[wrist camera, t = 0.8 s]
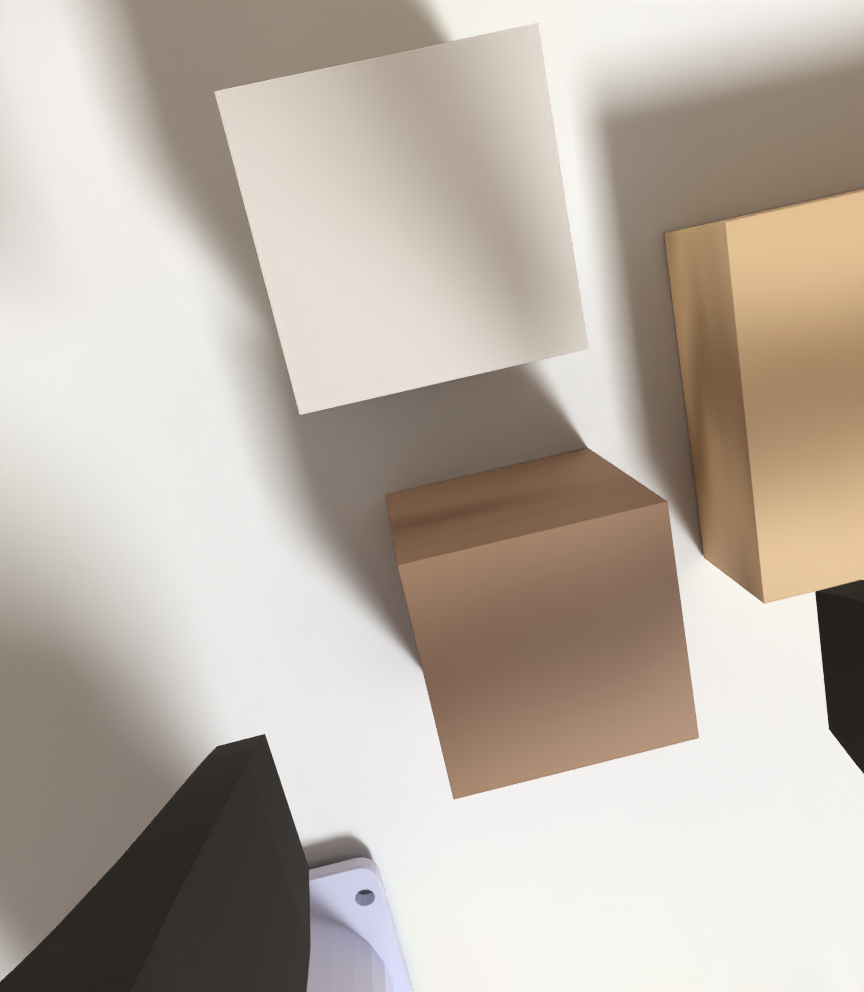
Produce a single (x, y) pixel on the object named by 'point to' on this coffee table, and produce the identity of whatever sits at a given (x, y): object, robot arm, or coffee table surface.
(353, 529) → the coffee table surface
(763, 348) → the oak base
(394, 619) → the coffee table surface
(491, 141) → the grey cube
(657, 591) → the walnut cube
